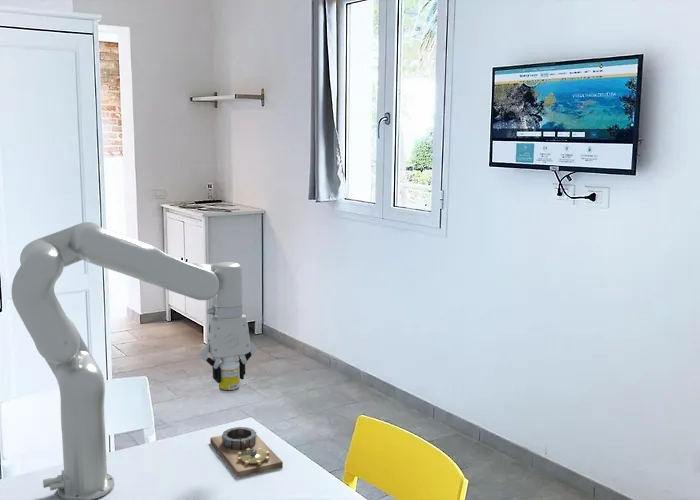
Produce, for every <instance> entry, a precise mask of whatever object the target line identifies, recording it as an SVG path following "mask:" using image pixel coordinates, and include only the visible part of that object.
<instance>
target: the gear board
mask: <svg viewBox="0 0 700 500" xmlns="http://www.w3.org/2000/svg"><path fill="white" fill-rule="evenodd" d="M233 439H244V438H240V437H238V438H233ZM210 444H211V446H212V447H213V448H214V450H216V452H217V453H218V454H219V456H220V457H221V458H222V459H223V461H224V462H225V463H226V465H227V466H228V467H229V468H230V470H231V471H232V472H233V474H235V476H236V478H242V477H246V476H251V475H255V474H256V475H257V474H258V473H263V472H268V471H272V470H276V469H281V468H283V467H284V466H283V463H284V462H283V461H282V460H281V458H279V456H278V455H276V453H275V452H274V451H273V450H272V449H271V448H270V446H268V445H267V444H266V443H265V442H264V441H263V440H262V439H261V438H260V436H258V435H257V434H256V444H255V445H254V446H253V447H251V448H250V449H258V448H262V450H263V451H265V452H266V451H268V452H269V461H268V462H266V461H265V462H263V463H261V465H259V466H258V465H249V466H245V464H244V463H242V462H240V463H238V462H237V458H238V453H239V452H243V451H245V450H246V449H244V450H231V449H227V448H225V447H224V446H223V445H222V435H217V436H213V437H212V436H211V437H210Z"/></svg>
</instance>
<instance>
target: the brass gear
mask: <svg viewBox="0 0 700 500" xmlns="http://www.w3.org/2000/svg"><path fill="white" fill-rule="evenodd" d="M265 461H266V462H268V461H269V452H268V451H266V452H265V451H263V450H262V448H258V449H250V448H248V449H246V450H245V451H243V452H239V453H238V458H237V462H238V463H240V462H242V463H244V464H245V466H249V465H258V466H259V465H261V463H263V462H265Z"/></svg>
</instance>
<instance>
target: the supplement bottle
mask: <svg viewBox="0 0 700 500" xmlns="http://www.w3.org/2000/svg"><path fill="white" fill-rule="evenodd" d="M238 361H239V360H237V356H233V357H226V358H221V359H220V363H219V368H220V369H221V382H220V383H218V391H219V392H220V393H222V394H235V393H238V392H239V391H240V390H241V379H240V365H239V362H238Z"/></svg>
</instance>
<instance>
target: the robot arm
mask: <svg viewBox="0 0 700 500" xmlns="http://www.w3.org/2000/svg"><path fill="white" fill-rule="evenodd" d="M19 255H20V256H19V262H20V263H19V264H20V266H19V268H18V269H17V270H16V273H15V274H14V277H13V279H12V283H11V300H12V302H13V306H14V308H15V310H16V312H17V314H18V316H19V318H20V319H21V321H22V322H23V325H24V327H25V328H26V330H27V332H28V334H29V335H30V337H31V339H32V341H33V343H34V345H35V349H37V352H38V354H39V355H40V356H41V357H42V358H44V360H45V362H46V363H47V365H48V367H49V368H50V370H51V372H52V374H53V375H54V377H55V379H56V381H57V385H58V387H59V388H58V390H59V394H60V395H59V396H60V397H59V398H60V426H61V437H62V438H61V439H62V440H61V441H62V443H61V444H62V459H63V470H61V474H57V476H55V477H49V478H44V479H42V486H43V489H46V488H49V490H50V491H54V490H57V494H58V496H59V498H61V499H63V500H95V499H99V498H101V497H103V496H105V495H107V494H108V493H110V492H111V491H112V490H113V488H114V486H115V479H114V476H112V475H111V474H109V473H108V469H107V467H108V466H107V445H106V444H107V443H106V441H107V440H106V425H105V424H106V423H105V422H106V421H105V398H106V397H105V396H106V395H105V393H106V392H105V391H106V387H105V386H106V385H105V379H104V375H103V373H102V370H101V369H100V367H99V365H98V363H97V362H96V360H95V359H94V357H93V355H92V353H91V351H90V350H89V348H88V346H87V344H86V343H85V341H84V339H83V338H82V335H81V334H80V332H79V330H78V328H77V327H76V324H75V323H74V322H73V321H72V319H71V318H70V317H69V316H67V315H66V312H65V310H64V308H63V307H62V305H61V303H60V301H59V300H58V298H57V295H56V293H55V286H56V282H57V281H58V279H59V278H60V277H61V275H62V273H63V271H64V268H66V267H68V266H71V265H74V264H76V263H79V262H81V261H84V262H86V263H89V264H92V265H96V266H97V267H101V268H104V269H108V270H111V271H114V272H116V273H120V274H122V275H126V276H128V277H131V278H134V279H137V280H139V281H141V282H144V283H147V284H151V285H153V286H157V287H159V288H162V289H165V290H167V291H169V292H173V293H175V294H177V295H182V296H185V297H187V298H190V299H194V300H198V301H208V300H211V302H212V305H211V307H210V308H207V309H206V314H207V315H212V316H210V317H209V323H208V328H207V329H208V330H207V343H206V345H205V346H204V347H203V349H202V350H201V351H200V353H199V354H198V356H199V357H200V358H201V359H202V360H203V361H205V362H206V363H208V364H209V365H210V366H211V367H212V378H213V380H215V382H216V383H217V384H219V383H220V382H221V369H220V368H219V363H220V362H221V358H226V357H233V356H236V357H237V358H238V360H237V361H238V362H239V365H240V380H245V375H246V364H247V363H248V361H249V360H250V358H251V357H252V355H253V354H254V353H255V352H256V351H257V350H258V347H257V346H256V344H254V343H253V342H252V341H251V340H250V332H249V324H248V319H247V315H246V314H243V313H244V311H243V307H244V306H243V271H242V270H243V268H242V266H241V264H239V263H238V262H232V261H224V262H221V261H220V262H217V263H197V262H196V263H195V262H194V263H193V262H192V263H188V262H186V261H183V260H181V259H179V258H176V257H174V256H172V255H169V254H168V253H165V252H164V251H162V250H161V249H159V248H157V247H156V246H153V245H150V244H149V243H146V242H143V241H140V240H138V239H134V238H132V237H128V236H127V235H123V234H120V233H118V232H116V231H113V230H109V229H107V228H104V227H102V226H101V225H100V224H98V223H96V222H95V223H94V222H92V221H91V222H90V221H85V222H80V223H78V224H75V225H72V226H70V227H66V228H65V229H62V230H59V231H56V232H53V233H51V234H48V235H45V236H42V237H39V238H37V239H34V240H32V241H30V242H29V243H27V244H26V245H25V246H24V247H23V248H22V250H21V252H20V254H19ZM208 354H210V355H211V356H212V358H211V357H210V356H208Z"/></svg>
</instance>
